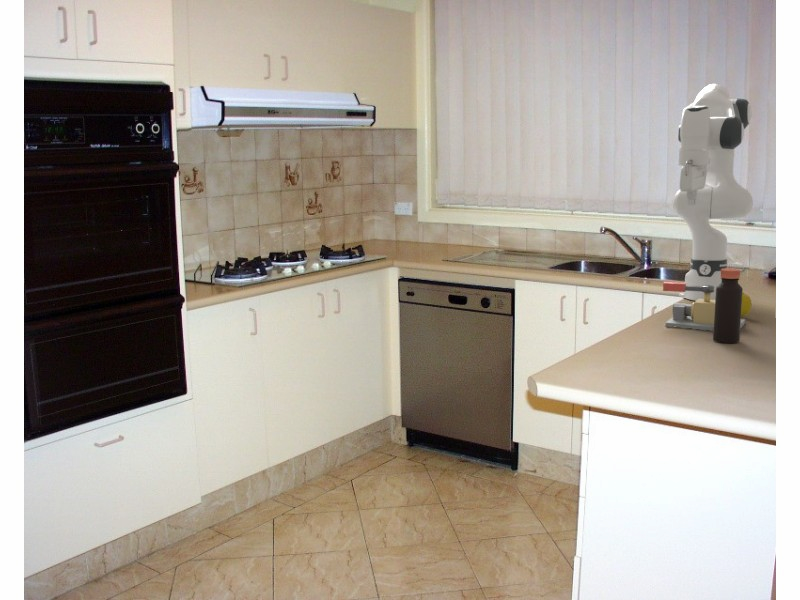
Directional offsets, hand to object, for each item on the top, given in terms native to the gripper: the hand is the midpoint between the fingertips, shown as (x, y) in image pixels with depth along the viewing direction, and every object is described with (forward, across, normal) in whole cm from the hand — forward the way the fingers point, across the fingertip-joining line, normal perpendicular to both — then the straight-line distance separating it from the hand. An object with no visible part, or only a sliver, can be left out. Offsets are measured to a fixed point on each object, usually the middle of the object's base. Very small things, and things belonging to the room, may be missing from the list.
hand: (691, 205), depth 258 cm
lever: (+25, -11, -3) cm, 27 cm away
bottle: (+35, -29, -17) cm, 49 cm away
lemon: (+35, +6, -16) cm, 39 cm away
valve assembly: (+35, -10, -8) cm, 37 cm away
